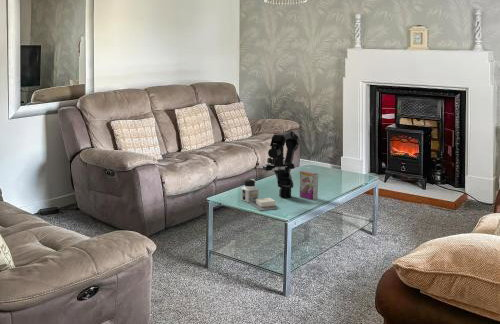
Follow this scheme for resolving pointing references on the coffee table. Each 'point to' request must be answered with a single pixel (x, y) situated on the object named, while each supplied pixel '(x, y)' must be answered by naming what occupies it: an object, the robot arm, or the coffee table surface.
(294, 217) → the coffee table surface
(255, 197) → the container
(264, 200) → the cream rectangular block
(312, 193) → the candy bar box
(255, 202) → the mat
